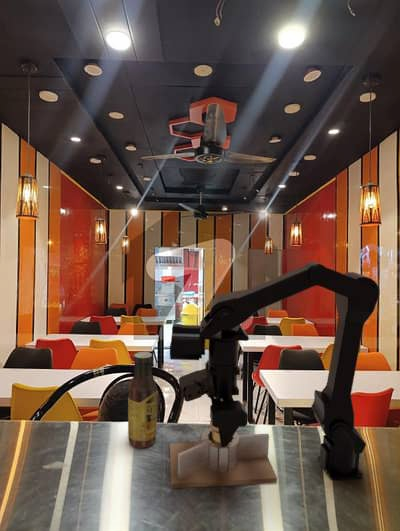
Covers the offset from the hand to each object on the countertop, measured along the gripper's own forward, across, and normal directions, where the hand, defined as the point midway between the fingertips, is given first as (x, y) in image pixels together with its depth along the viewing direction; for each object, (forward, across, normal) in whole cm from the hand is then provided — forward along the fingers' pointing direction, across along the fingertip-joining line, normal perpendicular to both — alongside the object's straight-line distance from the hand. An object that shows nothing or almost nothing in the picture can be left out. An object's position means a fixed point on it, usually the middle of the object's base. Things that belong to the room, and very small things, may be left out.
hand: (220, 434), depth 73 cm
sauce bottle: (+7, -9, -16) cm, 20 cm away
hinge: (+5, +1, +1) cm, 6 cm away
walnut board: (+6, 0, 0) cm, 6 cm away
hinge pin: (+6, 0, 0) cm, 6 cm away
